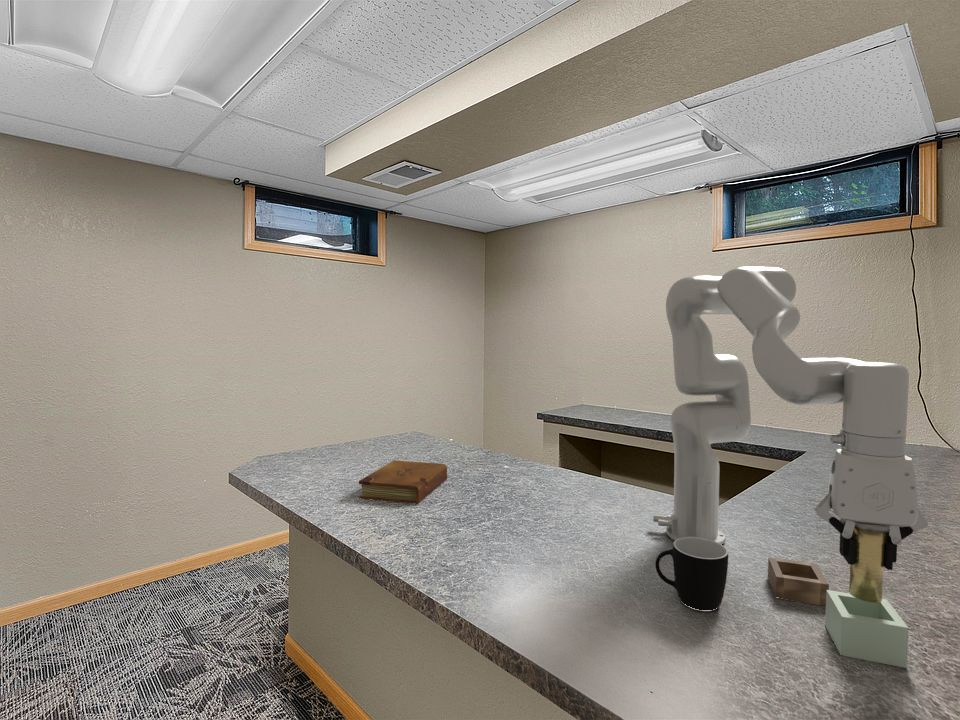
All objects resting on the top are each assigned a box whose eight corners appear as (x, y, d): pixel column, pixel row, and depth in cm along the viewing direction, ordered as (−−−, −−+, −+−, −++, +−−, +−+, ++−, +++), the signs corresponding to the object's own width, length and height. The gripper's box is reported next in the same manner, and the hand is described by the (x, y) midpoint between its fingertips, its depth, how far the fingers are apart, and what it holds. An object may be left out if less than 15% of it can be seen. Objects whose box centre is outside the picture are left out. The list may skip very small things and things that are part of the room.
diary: (419, 506, 139) (418, 486, 139) (359, 500, 144) (358, 481, 144) (447, 481, 161) (447, 463, 161) (394, 476, 166) (394, 459, 166)
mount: (775, 597, 90) (776, 576, 90) (767, 577, 98) (768, 557, 97) (827, 606, 87) (828, 584, 87) (815, 584, 95) (816, 563, 95)
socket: (840, 655, 75) (841, 616, 74) (825, 625, 82) (826, 589, 82) (906, 668, 72) (908, 627, 71) (884, 635, 79) (886, 599, 79)
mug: (727, 596, 91) (729, 542, 90) (725, 622, 83) (727, 563, 82) (658, 580, 97) (659, 529, 96) (650, 603, 89) (651, 548, 88)
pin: (851, 600, 75) (854, 523, 74) (840, 584, 80) (843, 511, 79) (892, 607, 73) (896, 527, 72) (878, 590, 78) (882, 515, 77)
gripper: (813, 446, 74) (808, 565, 76) (957, 455, 68) (949, 585, 70) (801, 435, 81) (797, 544, 83) (930, 443, 75) (924, 561, 77)
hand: (866, 562), depth 76 cm, fingers closed on pin, 4 cm apart
